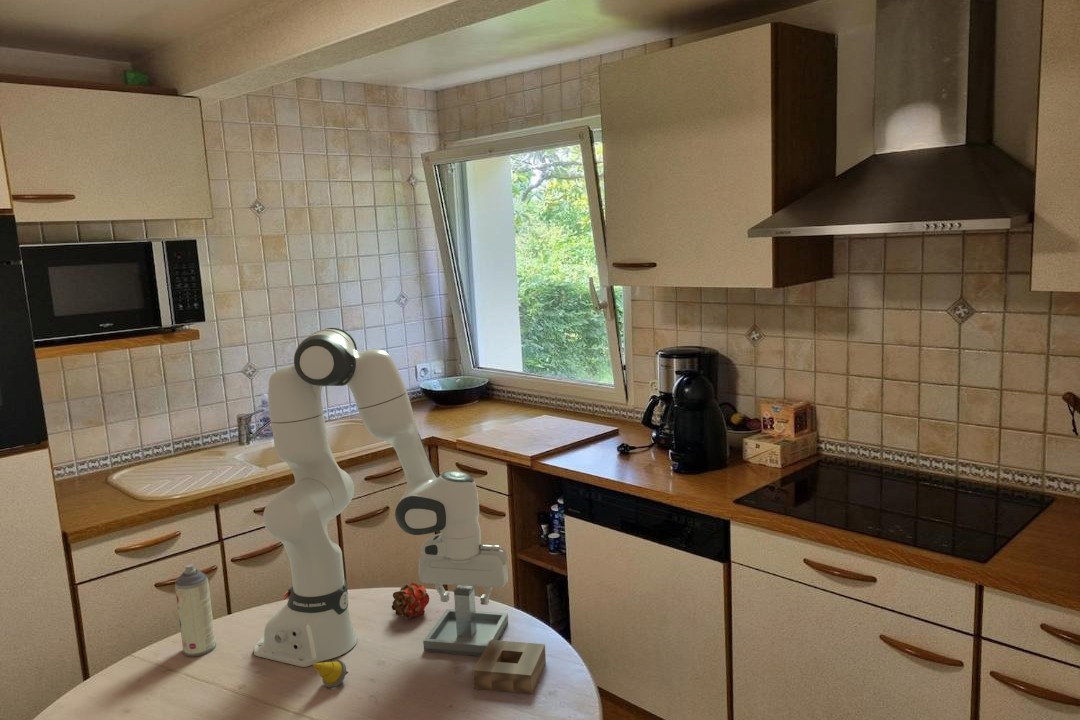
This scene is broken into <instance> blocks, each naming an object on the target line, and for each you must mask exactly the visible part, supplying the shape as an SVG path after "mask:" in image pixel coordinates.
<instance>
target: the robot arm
mask: <svg viewBox="0 0 1080 720" xmlns="http://www.w3.org/2000/svg"><path fill="white" fill-rule="evenodd" d="M338 386H339V387H343V386H348V388H349V389H350V392H351V393H352V396H353V397H354V401H355V404H356V406H357V410H358V413H359V415H360V416H359V417H360V419H361V421H362V422H363V425H364V427H365V429H366V430H367V432H368V433H369V434H370V436H372V437H373V438H375V439H377V440H380V441H385V442H387V443H389V444H390V445H391V446H392V447H393V449H394V451H395V452H396V455H397V458H398V461H399V463H400V465H401V468H402V470H403V472H404V475H405V478H406V489H405V492H404V494H403V495H402V497H401V498H400V499H399V502H398V504H397V506H396V507H395V510H394V511H395V513H394V516H395V520H396V523H397V525H398V526H399V528H400V529H401V530H402V531H403V532H405V533H407V534H408V535H411V536H422V535H423V536H424V535H428V534H432V535H430V537H428V538H427V539H425V541H424V542H423V543H422V545H420V553H421V555H420V557H419V558H418V566H417V567H418V579H419V581H420V582H421V584H434V588H435V590H436V592H437V593H438V595H439V596H440V602H442V603H448V601H449V600H450V592H449V591H446V589H445V588H444V585H450V586H458V585H462V586H474V587H478V588H484V592H485V593H483V594H482V595H481V596H480V600H479V601H480V605H483V606H487V605H488V604H489V603H490V595H491V593H492V591H493V589H494V588H495V589H502V588H503V587H504V586H505V585H506V584H507V583H508V580H509V572H508V566H507V565H508V564H507V562H508V554H507V553H508V552H507V551H506V550H505V549H504V548H503V547H501V546H500V545H497V544H496V545H490V544H482V536H481V535H482V534H481V532H482V531H481V526H480V523H479V515H480V504H479V493H478V488H477V485H476V482H475V479H474V478H473V476H471V475H470V474H468V473H466V472H462V471H456V470H451V471H445V472H443V473H440V475H439V474H437V472H436V471H435V469H434V468H433V465H432V463H431V461H430V458H429V455H428V452H427V451H426V449H425V445H424V442H423V441H422V438H421V435H420V433H419V430H418V427H417V423H416V420H415V416H414V411H413V408H412V407H413V406H412V404H411V400H410V397H409V394H408V391H407V388H406V385H405V383H404V380H403V378H402V375H401V373H400V371H399V369H398V367H397V365H396V363H395V361H394V360H393V358H392V356H391V355H390V354H389V353H388V352H386V351H385V350H382V349H378V348H377V349H375V348H374V349H373V348H371V349H366V350H364V351H360V350H358V348H357V343H356V342H355V340H354V338H353V337H352V336H351V334H349V333H348V332H347V331H345V330H343V329H340V328H336V327H327V328H324V329H320V330H317V331H315V332H313V333H311V334H310V335H308V336H307V338H305V339H304V340H302V341H301V342H300V343H299V344H298V346H297V348H296V349H295V352H294V357H293V364H292V365H285V366H283V367H281V368H278V369H277V370H276V371H274V372H273V373H272V374H271V375H270V377H269V380H268V390H267V391H268V393H267V394H268V396H267V397H268V399H267V400H268V413H269V419H270V425H271V432H272V437H273V444H274V450H275V454H276V456H277V457H278V459H279V460H280V461H282V462H284V463H285V464H287V465H288V466H289V468H290V471H291V472H292V474H293V477H294V483H293V484H291V485H290V486H287V487H286V488H284V489H282V490H281V491H279V492H278V493H277V494H276V495H275V496H274V497H272V499H271V500H270V501H269V502H268V503H267V505H266V506H265V507H264V511H263V514H262V515H263V517H262V519H263V520H262V521H263V525H264V527H265V529H266V531H267V532H268V534H269V535H270V536H271V537H272V538H274V539H275V540H277V541H280V542H281V543H282V545H283V547H284V548H285V550H286V553H287V556H288V559H289V565H290V571H291V572H290V573H291V580H292V585H291V587H289V588H288V589H287V591H286V592H285V593H284V594H283V595H282V597H283V599H282V600H283V601H285V600H286V599H287V598H288V600H287V602H286V603H285V604H284V605H283V606H281V608H280V609H278V610H277V611H276V612H274V614H273V615H272V616H271V617H270V618H269V619H268V621H267V622H266V624H265V627H264V632H263V636H262V637H261V638H260V639H259V640H258V641H257V642H256V643H255V646H254V648H253V655H254V656H256V657H259V658H263V659H268V660H271V661H272V660H273V661H276V662H280V663H285V664H288V665H289V664H290V665H293V666H297V667H302V668H306V667H310V666H313V664H314V663H321V662H324V661H329V660H332V659H334V658H338V657H340V656H342V655H344V654H346V653H348V652H349V651H350V650H352V649H353V648H354V647H355V645H356V644H357V642H358V637H357V634H356V631H355V630H354V626H353V624H352V620H351V616H350V613H349V612H350V611H349V593H348V584H347V581H346V579H345V573H344V562H343V552H342V550H341V549H342V548H341V547H340V546H339V545H338V544H337V543H335V542H334V541H332V540H331V538H330V536H329V533H328V523H329V522H330V520H331V521H332V519H333V518H335V517H337V516H338V515H339V514H341V513H342V512H344V510H345V509H346V508H347V506H349V504H350V502H351V501H352V499H353V498H354V495H355V484H354V482H353V479H352V477H351V476H350V475H349V473H347V471H345V470H344V469H342V468H340V466H339V464H338V463H337V461H336V458H335V457H334V455H333V454H334V453H333V452H332V449H331V447H330V442H329V438H328V432H327V427H326V421H325V414H324V409H323V403H322V389H323V387H338ZM438 532H440V533H438ZM433 533H436V534H433Z"/></svg>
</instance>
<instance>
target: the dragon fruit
mask: <svg viewBox="0 0 1080 720" xmlns="http://www.w3.org/2000/svg"><path fill="white" fill-rule="evenodd" d="M392 597H393V601H392V605H391V609H392V611H395V612H394V613H395V615H396V616H401V617H402V616H403V618H405V619H406V620H412V619H413V618H414V616H417V617H420V616H424V615H425V608H426V607H427V606H428V605H429V603H430V595H429V594H428V592H427V590H426V587H425V586H424V585H423V584H422V583H420V584H419V583H417V582H416V581H415V582H414V581H412V582H410V584H409V585H408V584H405V585H403V586H402V587H400V590H399V591H395V592H393V593H392Z"/></svg>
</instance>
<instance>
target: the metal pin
mask: <svg viewBox="0 0 1080 720" xmlns="http://www.w3.org/2000/svg"><path fill="white" fill-rule="evenodd" d="M475 596H476V595H475V586H462V585H456V587H455V589H454V590H453V597H454V609H455V614H456V629H457V637H466V638H472V637H473V635H474V634H475V632H476V631H477V626H476V611H477V610H476V597H475Z"/></svg>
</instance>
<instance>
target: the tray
mask: <svg viewBox="0 0 1080 720" xmlns="http://www.w3.org/2000/svg"><path fill="white" fill-rule="evenodd" d="M508 615H509V614H508V613H507V612H497V611H481V610H476V626H477V631H476V632H475V634H474V635H473V637H472V638H466V637H457V629H456V614H455V608H454V609H453V608H452V609H451V608H446V609H445V611H444V613H443V614H442V615H441V616H440V617H439V619H438V620H437V622H436V623H435V624H434V626H433V627H432V628H431V630H430V631H429V632H428V633H427V635H426V636H425V638H424V639H423V641H422V643H423V652H427V653H438V654H439V653H441V654H451V655H462V656H473V657H474V656H475V657H481V655H482V654H483V652H484V650H485V648H486V647H487V645H488V643H489V642H490V640H498V641H500V639H501V637H502V636H503V633H504V632H505V630H506V628H507V626H508V624H509V616H508Z"/></svg>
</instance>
